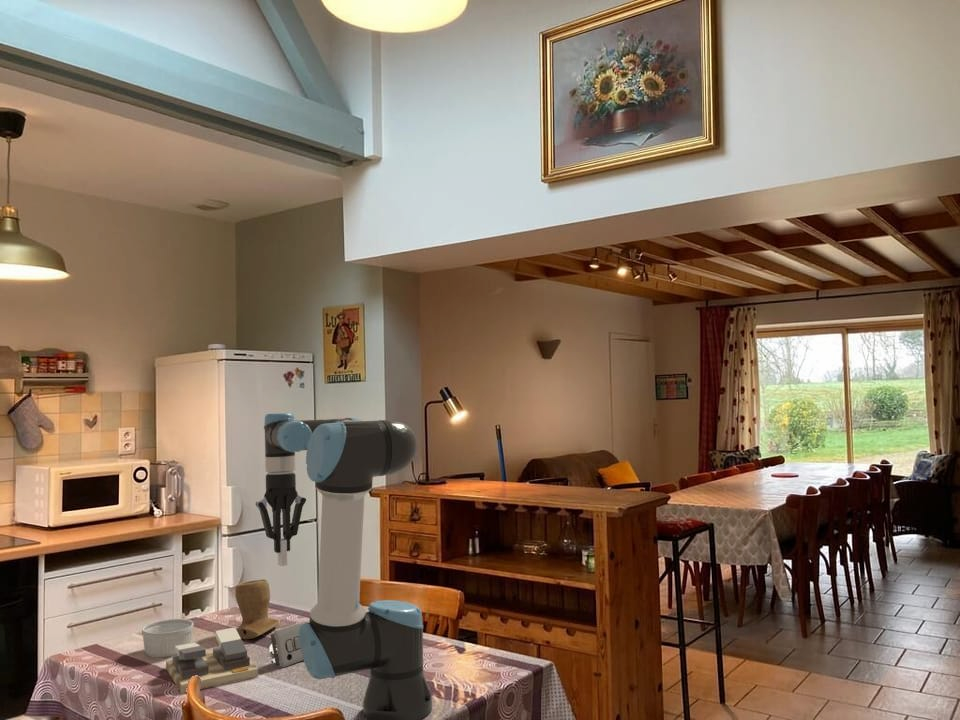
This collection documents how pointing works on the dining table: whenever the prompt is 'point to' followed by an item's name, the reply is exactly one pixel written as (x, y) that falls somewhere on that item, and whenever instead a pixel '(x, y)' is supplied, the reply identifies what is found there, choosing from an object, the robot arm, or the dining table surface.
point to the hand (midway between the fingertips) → (282, 564)
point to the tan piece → (254, 608)
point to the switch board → (210, 669)
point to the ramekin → (166, 636)
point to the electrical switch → (287, 645)
